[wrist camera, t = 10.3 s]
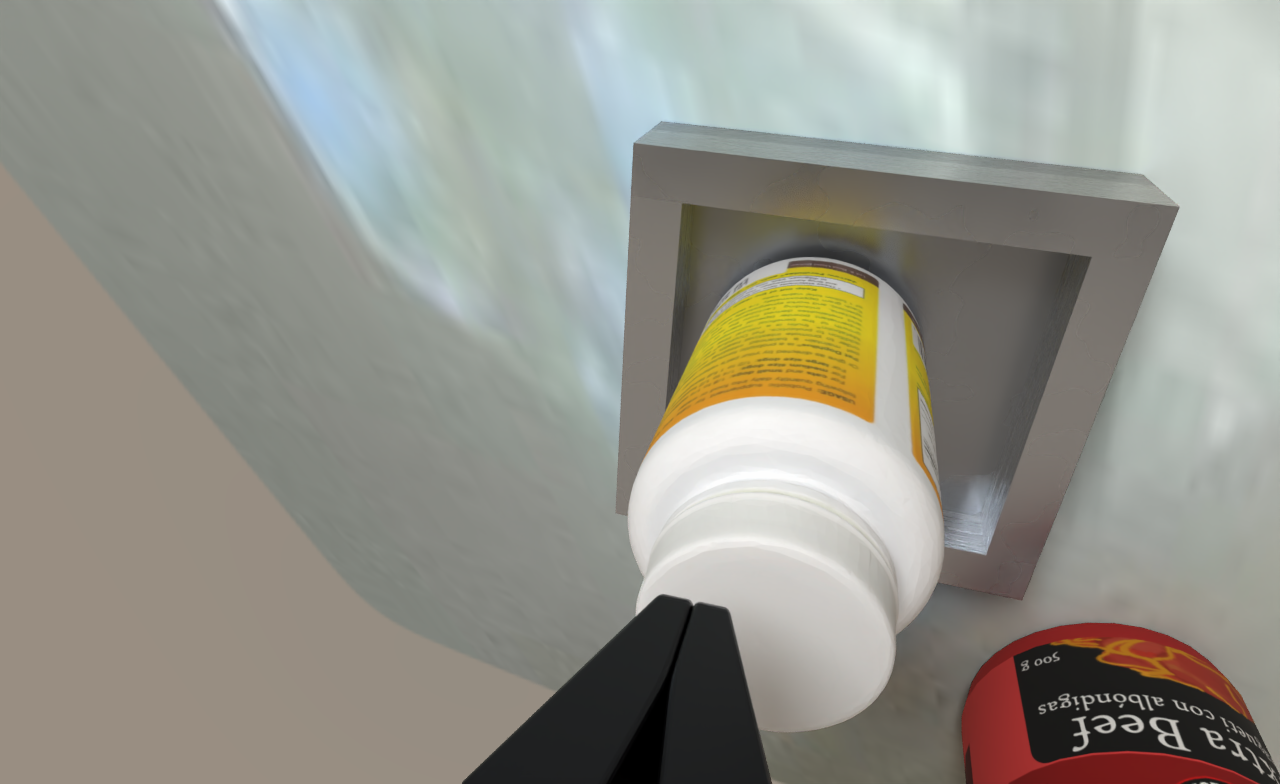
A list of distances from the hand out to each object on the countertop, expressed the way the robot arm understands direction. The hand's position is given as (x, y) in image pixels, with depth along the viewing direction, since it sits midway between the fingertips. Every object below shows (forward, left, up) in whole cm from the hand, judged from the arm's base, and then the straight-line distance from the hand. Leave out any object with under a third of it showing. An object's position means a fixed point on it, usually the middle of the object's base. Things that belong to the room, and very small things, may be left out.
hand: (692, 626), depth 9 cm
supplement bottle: (-1, +2, -12) cm, 13 cm away
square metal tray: (-2, +2, -13) cm, 13 cm away
